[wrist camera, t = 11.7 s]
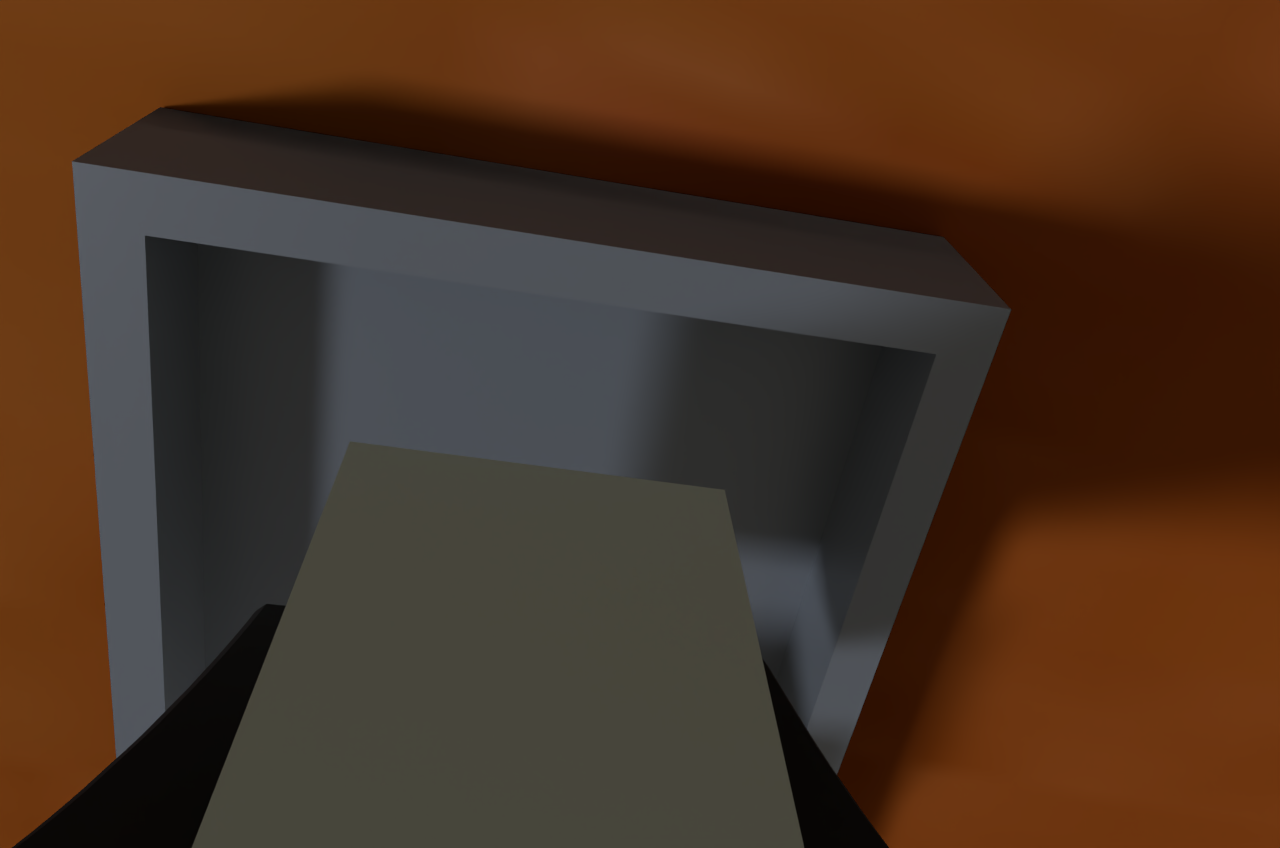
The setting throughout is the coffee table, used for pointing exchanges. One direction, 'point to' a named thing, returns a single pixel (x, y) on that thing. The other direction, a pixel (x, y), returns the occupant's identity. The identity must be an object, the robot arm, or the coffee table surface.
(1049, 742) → the coffee table surface
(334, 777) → the sage block
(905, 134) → the coffee table surface
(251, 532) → the grey tray
